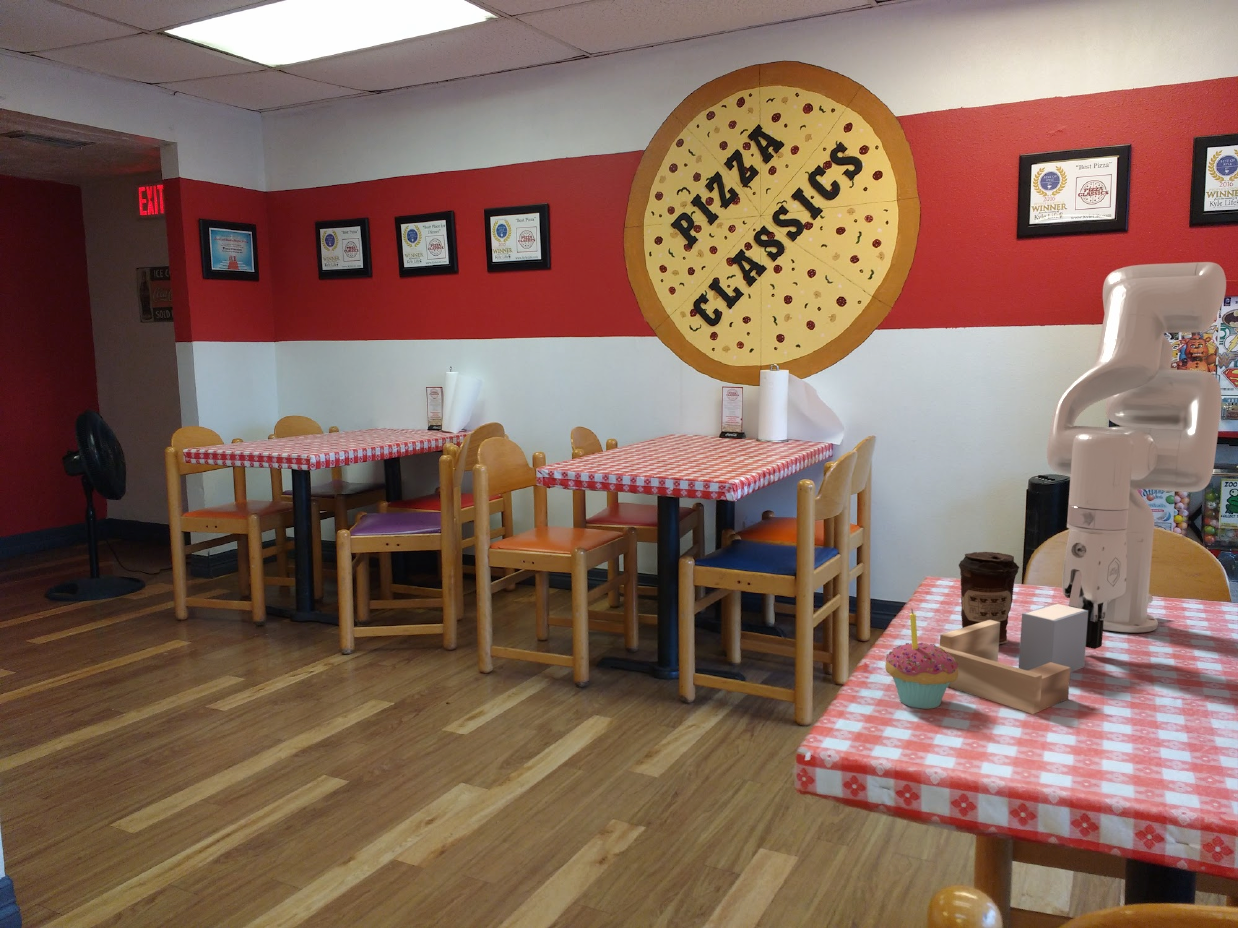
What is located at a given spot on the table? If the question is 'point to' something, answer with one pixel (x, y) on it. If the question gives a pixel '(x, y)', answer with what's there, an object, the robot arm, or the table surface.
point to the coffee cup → (987, 589)
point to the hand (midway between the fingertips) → (1087, 645)
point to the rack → (1002, 671)
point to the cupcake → (920, 671)
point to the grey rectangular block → (1053, 637)
